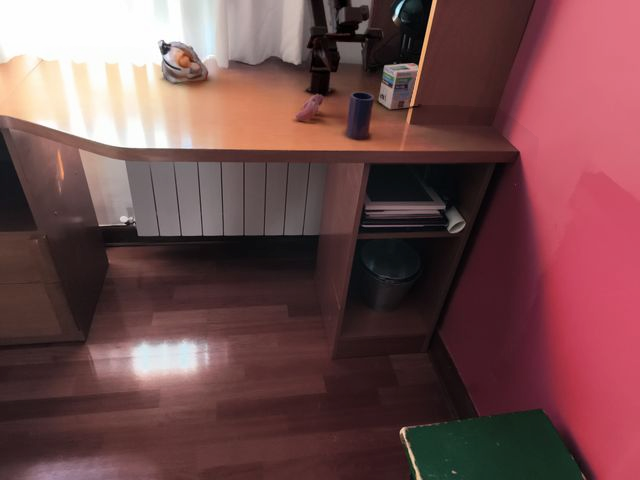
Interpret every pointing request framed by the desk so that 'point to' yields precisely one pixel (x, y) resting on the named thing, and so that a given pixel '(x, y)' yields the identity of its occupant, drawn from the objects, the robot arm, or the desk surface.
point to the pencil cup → (359, 115)
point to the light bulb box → (398, 85)
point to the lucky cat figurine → (181, 62)
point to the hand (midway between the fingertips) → (348, 70)
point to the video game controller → (310, 108)
